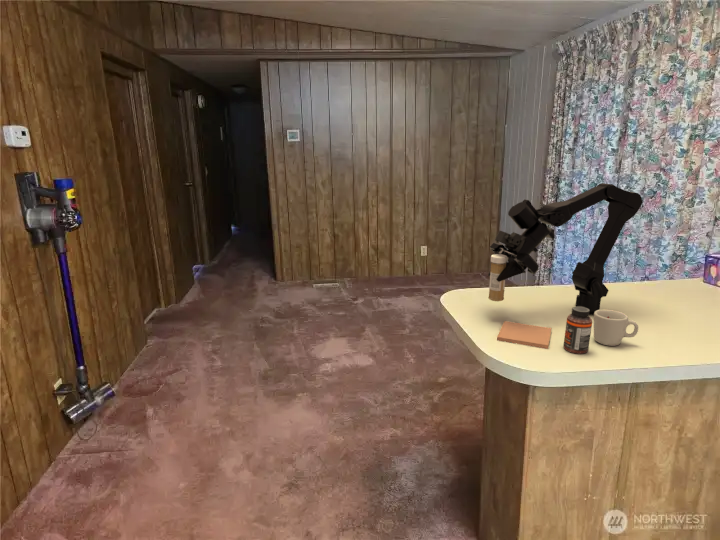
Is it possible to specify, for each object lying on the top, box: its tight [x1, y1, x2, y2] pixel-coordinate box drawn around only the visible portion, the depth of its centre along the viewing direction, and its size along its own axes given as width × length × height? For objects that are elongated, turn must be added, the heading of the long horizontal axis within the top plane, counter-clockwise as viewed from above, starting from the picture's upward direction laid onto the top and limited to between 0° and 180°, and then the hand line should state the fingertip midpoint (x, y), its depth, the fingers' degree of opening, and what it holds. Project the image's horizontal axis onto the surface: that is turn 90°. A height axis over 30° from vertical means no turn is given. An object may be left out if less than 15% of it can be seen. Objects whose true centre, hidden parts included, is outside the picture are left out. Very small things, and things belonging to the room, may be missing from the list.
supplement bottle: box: [563, 306, 593, 355], centre depth 122 cm, size 6×6×11 cm
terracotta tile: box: [496, 320, 552, 350], centre depth 132 cm, size 13×13×1 cm
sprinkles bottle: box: [488, 254, 508, 302], centre depth 140 cm, size 5×5×13 cm
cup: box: [593, 309, 639, 347], centre depth 127 cm, size 11×8×8 cm
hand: (493, 278), depth 140 cm, fingers closed on sprinkles bottle, 4 cm apart
